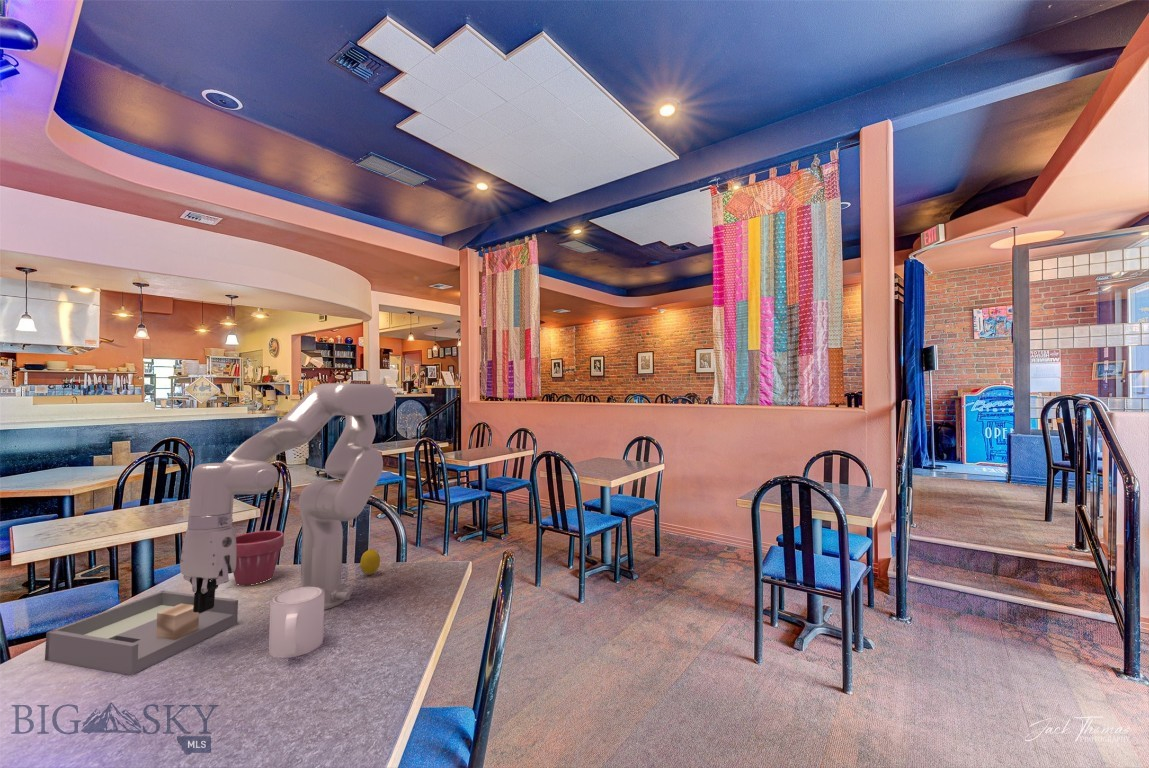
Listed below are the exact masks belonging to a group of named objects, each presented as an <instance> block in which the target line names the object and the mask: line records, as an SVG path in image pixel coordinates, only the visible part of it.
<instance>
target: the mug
mask: <svg viewBox="0 0 1149 768" xmlns="http://www.w3.org/2000/svg"><path fill="white" fill-rule="evenodd" d="M324 596H325V591H324V589H323V588H321V587H316V586H306V587H300V586H299V587H294V588H288V589H286V590H283V591H281V592H278V593H276V594H274V595H273V596H272V597H271V598H270V601H269V604H270V605H269V606H270V607H269V632H268V633H269V635H268V655H269V656H271V657H273V658H277V659H287V658H295V657H299V656H303V655H305V654H308V653H310V652H312V651H314V650H316V649H318V648H319V647H320V646H321V645H322V644H323V642H324V631H325V630H324V627H325V626H324V625H325V624H324V623H325V622H324V620H325V610H324Z"/></svg>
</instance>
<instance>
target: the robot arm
mask: <svg viewBox="0 0 1149 768" xmlns="http://www.w3.org/2000/svg"><path fill="white" fill-rule="evenodd" d="M395 404H396V395H395V391H394V390H393V389H392V388H391V387H390V386H388V385H386V384H381V383H380V384H379V383H377V384H376V383H374V384H373V383H372V384H371V383H370V384H369V383H367V384H365V383H350V382H349V383H348V382H339V383H338V382H334V383H333V382H332V383H331V382H330V383H329V382H328V383H321V384H317V385H316V386H314V387H313V388H311V390H310V391H309V392H308V393H307V394H306V395H304V396H303V397H302V398H301V399H300V400H299V401H298V402H297V403H296V404H295V405H294V406H293V407H292V408H291V409H290V410H289V411H288V412H287V413H286V414H285V415H284V416H283V417H282V418H280V419H279V420H278V421H277V422H275V423H273V424H271V425H269V426H268V427H265V428H264V429H263V430H261V431H260V432H257V433H256V434H254V435H253V436H251V437H250V438H248V439H246V440H245V441H244V442H243V443H241V444H240V445H239V446H238V447H236V449H235V450H234V451H233V452H231V453H230V454H229V455H228V456H227V457H226V459H224V460H223V462H210V463H202V464H201V463H200V464H198V465H196V466H195V467H194V468H193V469H192V472H191V481H190V483H191V484H190V494H189V506H188V507H189V508H188V518H187V529H186V531H185V535H184V539H183V543H182V547H181V548H182V549H181V555H180V566H179V567H180V573H181V574H182V575H183V579H184V581H185V580H186V581H188V582H190V584H191V591H192V592H193V593H194V606H193V612H198V613H202V612H204V611H207V610H209V609H212V608H213V607H214V599H215V597H216V590H217V589H218V588H219V586H220V585H223V584H225V583H228V582H229V581H230V577H229V574H234V573H233V572H235V569H236V536H237V535H236V531H235V527H233V525H232V524H233V521H234V519H233V512H234V501H235V499H234V497H235V495H259V494H264V493H266V492H268V491H270V490H271V489H273V488H274V487H275V486H276V484H277V482H278V481H279V471H278V469H277V468H276V467H275V465H273V464H272V463H270V462H268V461H269V460H270V459H271V458H274V457H275V456H277V455H279V454H281V453H284V452H286V451H289V450H292V449H296V448H298V447H301V446H303V445H306V444H308V443H309V442H310V441H311V440H312V439H313V438H314V437H315V436H316V435H317V434H318V432H320V431H321V429H323V428H324V426H325V425H327V423H328V422H329V421H330V420H331V419H332V418H333V417H334V416H344V417H345V425H344V428H343V430H342V432H341V435H340V436H339V438H338V440H337V441H336V443H335V444H334V447H333V448H332V450H331V451H330V453H329V455H328V457H327V459H326V461H325V465H324V466H325V467H324V468H325V472H326V473H327V475H328V476H330V477H331V478H333V479H337V480H342V481H341V482H339V481H334V480H316V481H313V482H311V483H309V484H307V485H306V486H305V487H304V488H303V489H302V491H301V493H300V494H299V499H298V508H299V514H300V519H301V558H300V561H301V562H300V565H301V566H300V586H299V587H306V586H316V587H321V588H323V589H324V591H325V596H324V611H325V610H328V609H331V608H332V609H333V608H334V607H337V606H340V605H341V604H343V603H344V602H345V601H348V600H350V598H351V595H352V594H353V589H352V588H346V585H345V584H346V583H345V581H342V571H343V569H342V565H343V536H344V535H343V534H344V533H343V532H344V531H343V525H342V522H349V521H352V520H354V519H356V518H357V517H358V516H359V515H360V514H361V512H362V511H363V510H364V508H365V507H366V505H367V503H368V501H369V498H370V497H371V495H372V493H373V491H374V489H375V487H376V485H377V483H378V482H379V479H380V477H381V474H382V472H383V468H384V460H383V456H382V454H381V452H380V451H379V450H378V449H376V448H374V447H372V445H373V442H374V439H375V437H376V431H377V430H376V423H375V421H374V417H373V415H375V416H376V415H384V414H387V413H389V412H390V411H391V410H392V409H393V408H394V406H395Z"/></svg>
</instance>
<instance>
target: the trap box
mask: <svg viewBox="0 0 1149 768" xmlns="http://www.w3.org/2000/svg"><path fill="white" fill-rule="evenodd" d="M179 604H189V605H194V594H193V593H185V592H179V591H170V590H161V591H158V592H155V593H153V594H149V595H147V596H144V597H141V598H139V599H136V600H133V601H130V602H128V603H124V604H122V605H119V606H115V607H113V608H111V609H108V610H104V611H102V612H99V613H97V614H93V615H91V616H88V617H84V618H82V619H80V620H77V621H74V622H71V623H68V624H66V625H62V626H60V627H57V628H54V629H51V630H49V631H47V632H46V634H45V635H46V636H45V648H44V649H45V651H44V661H48V662H55V663H60V664H66V665H71V666H76V667H82V668H88V669H92V670H99V671H103V672H109V673H115V674H120V673H121V674H120V675H125V674H128V675H127V676H133V675H135V674H138V673H139V672H141V670H142V671H144V670H145V668H146V669H147V668H149V667H152V666H153V665H156V664H157V663H160V662H162V661H164V660H167V659H168V658H169V657H172V656H174V655H176V654H178V653H180V652H182V651H184V650H186V649H188V648H190V647H192V646H195V645H197V644H198V643H202V641H204V640H207V639H208V638H210V637H213V636H215V635H217V634H219V633H221V632H223V631H225V630H227V629H229V628H232V627H234V626H235V625H238V614H239V613H238V612H239V610H238V609H239V600H238V599H234V598H226V597H217V596H215V599H214V607H213V608H212V609H209V610H207V611H204V612H202V613H199V626H198V629H197V630H195V631H193V632H191V633H188V634H186V635H184V636H182V637H180V638H178V639H176V640H171V639H165V638H158V637H156V627H157V613H159V612H161V611H164V610H166V609H169V608H171V607H174V606H176V605H179ZM143 669H144V670H143ZM132 674H133V675H132Z"/></svg>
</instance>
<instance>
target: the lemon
mask: <svg viewBox="0 0 1149 768" xmlns="http://www.w3.org/2000/svg"><path fill="white" fill-rule="evenodd" d="M361 555H362V556H361V557H360V562H359V563H360V565H359V566H360V569H361V571H362V572H363V573H365V574H367V575H368V574H371V573H372V574H374V573H375V572H376V571H377V570H378V569H379V567H380V565H381V557H380V553H379V552H378V551H377V550H375V549H373V548H369V549H368V550H366V551H365V552H363V554H361ZM372 574H371V575H372Z"/></svg>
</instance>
